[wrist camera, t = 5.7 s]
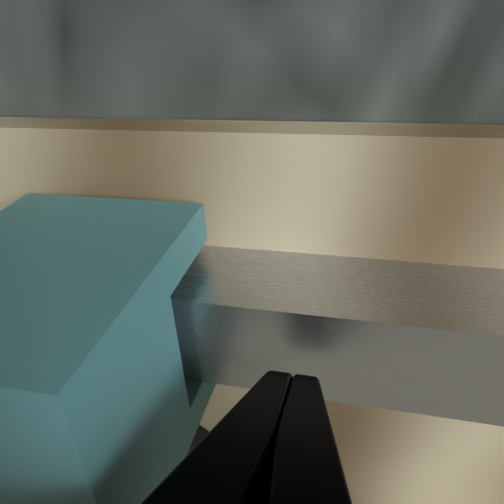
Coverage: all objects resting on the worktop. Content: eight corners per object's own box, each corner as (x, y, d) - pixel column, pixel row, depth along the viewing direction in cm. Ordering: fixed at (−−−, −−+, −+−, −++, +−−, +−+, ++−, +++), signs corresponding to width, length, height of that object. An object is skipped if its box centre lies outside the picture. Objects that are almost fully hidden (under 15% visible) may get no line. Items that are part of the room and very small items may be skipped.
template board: (1082, 133, 7) (1161, 153, 6) (668, 624, 14) (682, 658, 14) (-37, 116, 11) (-65, 126, 11) (100, 499, 19) (90, 520, 18)
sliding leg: (203, 203, 9) (56, 396, 5) (235, 477, 14) (169, 698, 10) (28, 193, 10) (-214, 349, 6) (110, 453, 15) (1, 645, 11)
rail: (925, 302, 8) (1072, 398, 6) (851, 391, 9) (958, 494, 7) (10, 230, 12) (-53, 275, 10) (34, 297, 13) (-20, 348, 11)
